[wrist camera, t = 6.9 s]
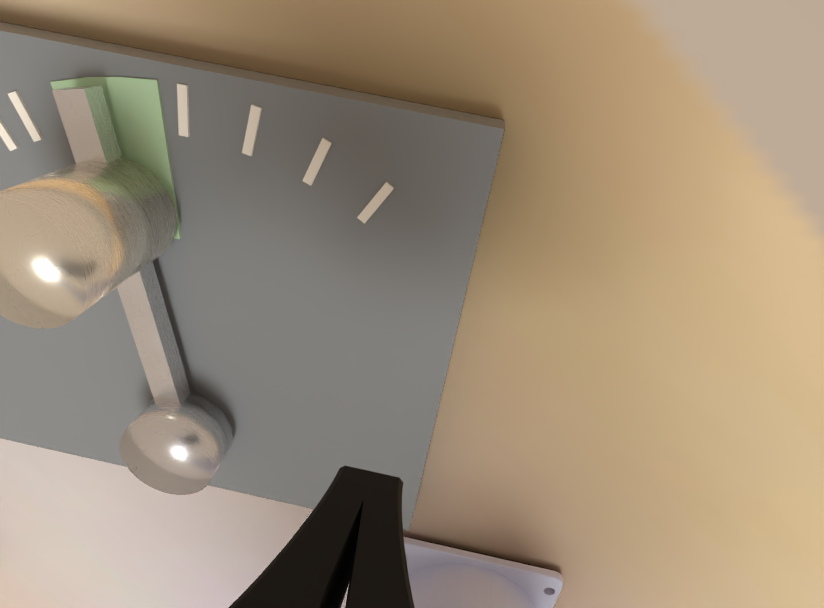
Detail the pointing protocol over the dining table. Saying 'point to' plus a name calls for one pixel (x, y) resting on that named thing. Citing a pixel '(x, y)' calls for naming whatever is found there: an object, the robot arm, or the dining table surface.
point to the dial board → (259, 263)
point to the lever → (110, 283)
